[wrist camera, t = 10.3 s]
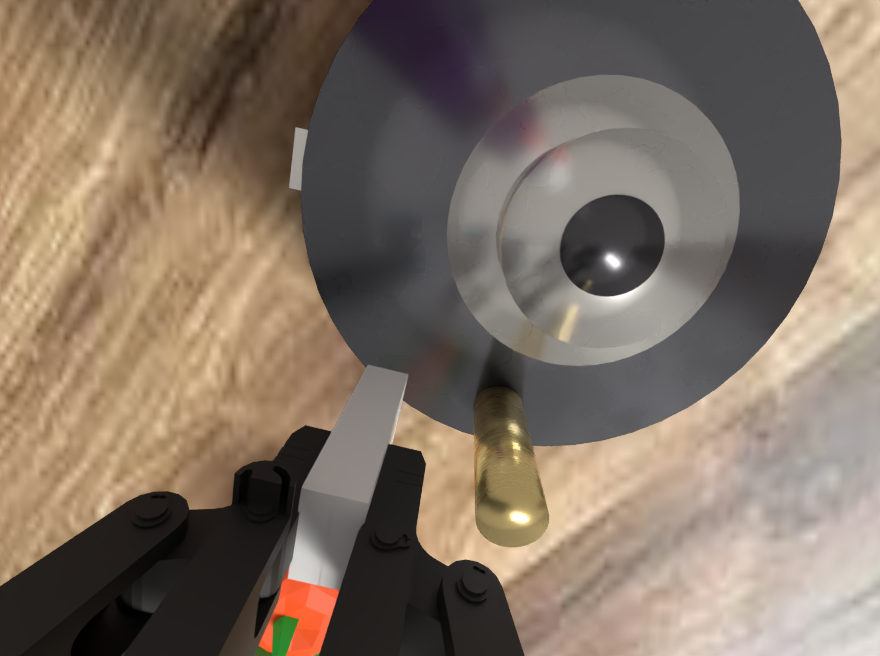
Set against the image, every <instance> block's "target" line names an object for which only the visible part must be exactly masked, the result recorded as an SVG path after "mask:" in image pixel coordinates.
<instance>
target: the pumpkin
mask: <svg viewBox="0 0 880 656" xmlns="http://www.w3.org/2000/svg"><path fill="white" fill-rule="evenodd" d="M289 567H290V566H289ZM288 574H289V568H288V570H287V572H286V574H285V577H284V579H283V581H282V585H281V591H280V596H279V600H278V603H277V605H276V607H275V609H274V612H273V614H272V616H271V618H270V621H269V623H268V625H267V627H266V630H265V632H264V634H263V636H262V639H261V641H260V643H259V645H258V646H260V647H261V648H263V649H265V650H266V651H268V652H272V656H313V655H315V654H317V653H319V652H320V650H321V647H322V644H323V641H324V638H325V634H326V631H327V628H328V625H329V622H330V619H331V616H332V612H333V609H334V606H335V603H336V600H337V597H338V593H339V590H336V589H331V588H327V587H323V586H318V585H314V584H310V583H305V582H301V581H297V580H292V579H288Z"/></svg>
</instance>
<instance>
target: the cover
mask: <svg viewBox="0 0 880 656" xmlns="http://www.w3.org/2000/svg"><path fill="white" fill-rule="evenodd" d="M739 214H740V205H739V188H738V181H737V175H736V171H735V168H734V165H733V161H732V158H731V155H730V153H729V151H728V149H727V147H726V145H725V143H724V141H723V139H722V137H721V135H720V134H719V132H718V131H717V130H716V128H715V127H714V125H713V124H712V122H711V121H710V120H709V119H708V118H707V117H706V116H705V115H704V114H703V113H702V112H701V111H700V110H699V109H698V108H697V107H696V106H695V105H694V104H692V103H691V102H690V101H688V100H687V99H686V98H684V97H683V96H682V95H680V94H678V93H676V92H675V91H673V90H671V89H669V88H667V87H665V86H663V85H660V84H657V83H654V82H651V81H649V80H646V79H642V78H636V77H631V76H625V75H594V76H586V77H579V78H575V79H572V80H568V81H564V82H560V83H558V84H555V85H553V86H550V87H548V88H546V89H543V90H541V91H539V92H537V93H535V94H534V95H532V96H530V97H528V98H527V99H525V100H523V101H521V102H520V103H519V104H517V105H516V106H515V107H513V108H512V109H511V110H510V111H508V112H507V113H506V114H504V115H503V116H502V117H501V118H500V119H499V120H498V121H497V122H496V123H495V124H494V125H493V126H492V127H491V128H490V129H489V130H488V131H487V132H486V134H485V135H484V136H483V138H482V139H481V140H480V141H479V143H478V144H477V145H476V147H475V148H474V150H473V151H472V153H471V155H470V156H469V158H468V160H467V161H466V163H465V165H464V167H463V169H462V172H461V174H460V176H459V178H458V181H457V183H456V186H455V190H454V193H453V196H452V200H451V204H450V210H449V216H448V226H447V245H448V256H449V261H450V266H451V270H452V274H453V277H454V280H455V283H456V285H457V288H458V291H459V293H460V294H461V296H462V298H463V300H464V302H465V304H466V306H467V307H468V309H469V310H470V311H471V313H472V314H473V316H474V317H475V318H476V320H477V321H478V322H479V323H480V324H481V325H482V326H483V327H484V328H485V329H486V330H487V331H488V332H489V333H490V334H491V335H493V336H494V337H495V338H496V339H498V340H499V341H500V342H501V343H503V344H505V345H506V346H508V347H510V348H511V349H513V350H514V351H517V352H519V353H521V354H523V355H526V356H528V357H530V358H534V359H537V360H540V361H543V362H548V363H553V364H559V365H571V366H585V365H598V364H603V363H609V362H614V361H617V360H621V359H624V358H627V357H631V356H633V355H635V354H638V353H640V352H642V351H645V350H647V349H649V348H650V347H652V346H654V345H656V344H658V343H659V342H661V341H663V340H664V339H666V338H667V337H668V336H670V335H671V334H673V333H674V332H675V331H677V330H678V329H679V328H680V327H682V326H683V325H684V324H685V323H686V322H687V321H688V320H689V319H690V318H691V317H693V315H694V314H695V313H696V312H697V311H698V310H699V309H700V307H701V306H702V305H703V304H704V303H705V302H706V300H707V299H708V297H709V296H710V294H711V293H712V292H713V290H714V289H715V287H716V286H717V284H718V282H719V280H720V278H721V276H722V275H723V273H724V271H725V269H726V266H727V264H728V261H729V259H730V256H731V254H732V251H733V247H734V243H735V239H736V235H737V230H738V222H739Z"/></svg>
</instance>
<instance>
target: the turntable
mask: <svg viewBox="0 0 880 656" xmlns="http://www.w3.org/2000/svg"><path fill="white" fill-rule="evenodd" d="M594 75H625V76H631V77H636V78H642V79H646V80H649V81H651V82H654V83H657V84H660V85H663V86H665V87H667V88H669V89H671V90H673V91H675V92H676V93H678V94H680V95H682V96H683V97H684V98H686V99H687V100H688V101H690V102H691V103H692V104H694V105H695V106H696V107H697V108H698V109H699V110H700V111H701V112H702V113H703V114H704V115H705V116H706V117H707V118H708V119H709V120H710V121H711V122H712V124H713V125H714V127H715V128H716V130H717V131H718V132H719V134H720V135H721V137H722V139H723V141H724V143H725V145H726V147H727V149H728V151H729V153H730V155H731V158H732V161H733V165H734V168H735V171H736V175H737V181H738V188H739V205H740V214H739V222H738V230H737V235H736V239H735V243H734V247H733V251H732V254H731V256H730V259H729V261H728V264H727V266H726V269H725V271H724V273H723V275H722V276H721V278H720V280H719V282H718V284H717V286H716V287H715V289H714V290H713V292H712V293H711V294H710V296H709V297H708V299H707V300H706V302H705V303H704V304H703V305H702V306H701V307H700V309H699V310H698V311H697V312H696V313H695V314H694V315H693V317H691V318H690V319H689V320H688V321H687V322H686V323H685V324H684V325H683V326H682V327H680V328H679V329H678V330H677V331H675V332H674V333H673V334H671V335H670V336H668V337H667V338H666V339H664V340H663V341H661V342H659V343H658V344H656V345H654V346H652V347H650V348H649V349H647V350H645V351H642V352H640V353H638V354H635V355H633V356H631V357H627V358H624V359H621V360H617V361H614V362H609V363H603V364H598V365H585V366H571V365H559V364H553V363H548V362H543V361H540V360H537V359H534V358H530V357H528V356H526V355H523V354H521V353H519V352H517V351H514V350H513V349H511V348H510V347H508V346H506V345H505V344H503V343H501V342H500V341H499V340H498V339H496V338H495V337H494V336H493V335H491V334H490V333H489V332H488V331H487V330H486V329H485V328H484V327H483V326H482V325H481V324H480V323H479V322H478V321H477V320H476V318H475V317H474V316H473V314H472V313H471V311H470V310H469V309H468V307H467V306H466V304H465V302H464V300H463V298H462V296H461V294H460V293H459V291H458V288H457V285H456V283H455V280H454V277H453V274H452V270H451V266H450V261H449V256H448V245H447V226H448V216H449V210H450V204H451V200H452V196H453V193H454V190H455V186H456V183H457V181H458V178H459V176H460V174H461V172H462V169H463V167H464V165H465V163H466V161H467V160H468V158H469V156H470V155H471V153H472V151H473V150H474V148H475V147H476V145H477V144H478V143H479V141H480V140H481V139H482V138H483V136H484V135H485V134H486V132H487V131H488V130H489V129H490V128H491V127H492V126H493V125H494V124H495V123H496V122H497V121H498V120H499V119H500V118H501V117H502V116H503V115H504V114H506V113H507V112H508V111H510V110H511V109H512V108H513V107H515V106H516V105H517V104H519V103H520V102H521V101H523V100H525V99H527V98H528V97H530V96H532V95H534V94H535V93H537V92H539V91H541V90H543V89H546V88H548V87H550V86H553V85H555V84H558V83H560V82H564V81H568V80H572V79H575V78H579V77H586V76H594ZM840 158H841V130H840V118H839V106H838V99H837V95H836V91H835V87H834V82H833V78H832V74H831V69H830V65H829V62H828V60H827V57H826V55H825V52H824V50H823V47H822V45H821V42H820V40H819V37H818V35H817V32H816V30H815V27H814V26H813V24H812V22H811V21H810V19H809V17H808V16H807V14H806V12H805V11H804V9H803V7H802V6H801V4H800V2H799V1H798V0H373V2H372V3H371V4H370V5H369V6H368V8H367V9H366V10H365V11H364V12H363V14H362V15H361V16H360V17H359V19H358V20H357V22H356V23H355V25H354V26H353V28H352V30H351V31H350V33H349V34H348V36H347V38H346V39H345V41H344V42H343V44H342V46H341V47H340V49H339V50H338V52H337V54H336V56H335V58H334V60H333V63H332V65H331V67H330V69H329V71H328V73H327V76H326V78H325V80H324V82H323V84H322V86H321V89H320V92H319V95H318V98H317V101H316V105H315V108H314V111H313V114H312V117H311V121H310V124H309V128H308V130H305V129H301V128H297V127H296V129H295V138H294V147H293V156H292V165H291V174H290V183H289V188H292V189H296V190H300V191H301V208H302V223H303V233H304V238H305V243H306V248H307V253H308V258H309V263H310V266H311V269H312V272H313V275H314V278H315V281H316V285H317V288H318V291H319V293H320V296H321V298H322V300H323V302H324V304H325V306H326V308H327V310H328V313H329V315H330V317H331V319H332V321H333V323H334V324H335V326H336V327H337V329H338V331H339V332H340V334H341V335H342V337H343V338H344V340H345V342H346V343H347V345H348V346H349V348H350V349H351V350H352V351H353V352H354V354H355V355H356V356H357V357H358V359H359V360H360V361H361V362H362V363H363V365H364V366H365V367H367V365H372V366H376V367H380V368H385V369H389V370H393V371H397V372H401V373H405V374H408V378H407V383H406V387H405V391H404V396H403V401H405V402H406V403H407V404H409V405H410V406H411V407H413V408H415V409H417V410H418V411H420V412H422V413H424V414H425V415H427V416H429V417H430V418H432V419H434V420H436V421H438V422H440V423H443V424H445V425H447V426H450V427H452V428H454V429H457V430H459V431H461V432H465V433H468V434H472V435H474V470H475V517H476V524H477V527H478V529H479V531H480V533H481V534H482V535H483V536H484V537H485V538H486V539H488V540H489V541H491V542H492V543H494V544H497V545H500V546H504V547H521V546H525V545H528V544H530V543H532V542H534V541H536V540H537V539H539V538H540V537H541V536H542V535H543V534H544V532H545V531H546V529H547V527H548V523H549V513H548V509H547V504H546V500H545V496H544V492H543V488H542V483H541V479H540V475H539V471H538V466H537V462H536V458H535V454H534V450H533V446H561V445H576V444H583V443H589V442H596V441H602V440H606V439H610V438H613V437H617V436H621V435H625V434H628V433H632V432H635V431H637V430H640V429H642V428H645V427H648V426H650V425H653V424H655V423H658V422H660V421H662V420H664V419H666V418H668V417H670V416H672V415H674V414H676V413H678V412H680V411H682V410H684V409H686V408H688V407H689V406H691V405H692V404H694V403H696V402H697V401H699V400H700V399H702V398H703V397H705V396H706V395H708V394H709V393H711V392H712V391H714V390H715V389H717V388H718V387H719V386H720V385H721V384H723V383H724V382H725V381H726V380H728V379H729V378H730V377H731V376H732V375H734V374H735V373H736V372H737V371H738V370H740V369H741V368H742V367H743V366H744V365H745V364H746V363H747V362H748V361H749V360H750V359H751V358H752V357H753V356H754V355H755V354H756V353H757V352H758V351H759V349H760V348H761V347H762V346H763V345H764V344H765V343H766V342H767V341H768V339H769V338H770V337H771V336H772V334H773V333H774V332H775V330H776V329H777V328H778V327H779V325H780V324H781V323H782V322H783V320H784V319H785V318H786V316H787V315H788V313H789V312H790V310H791V308H792V307H793V305H794V303H795V302H796V300H797V299H798V297H799V295H800V294H801V292H802V290H803V289H804V287H805V285H806V283H807V281H808V279H809V277H810V275H811V272H812V270H813V268H814V266H815V264H816V262H817V260H818V257H819V255H820V253H821V250H822V247H823V244H824V241H825V238H826V235H827V232H828V229H829V225H830V222H831V219H832V216H833V210H834V205H835V200H836V195H837V189H838V184H839V176H840Z"/></svg>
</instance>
